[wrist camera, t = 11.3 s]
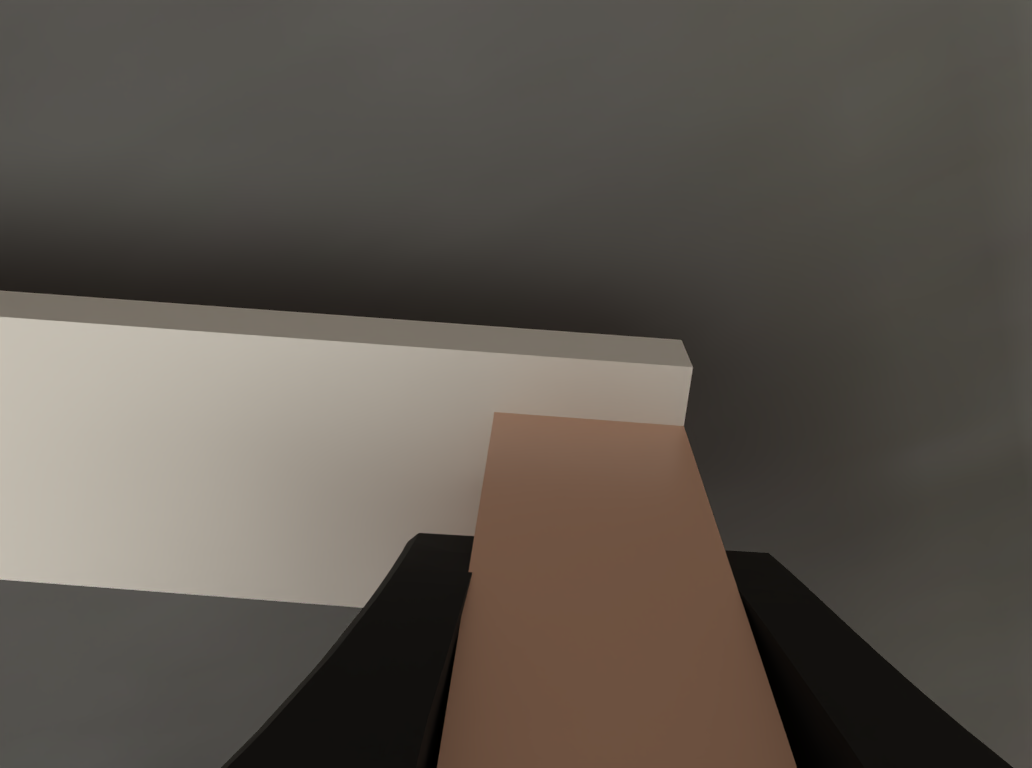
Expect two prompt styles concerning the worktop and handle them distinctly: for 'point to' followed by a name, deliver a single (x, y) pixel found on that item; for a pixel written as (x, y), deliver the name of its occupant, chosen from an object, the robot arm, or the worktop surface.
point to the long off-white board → (401, 505)
